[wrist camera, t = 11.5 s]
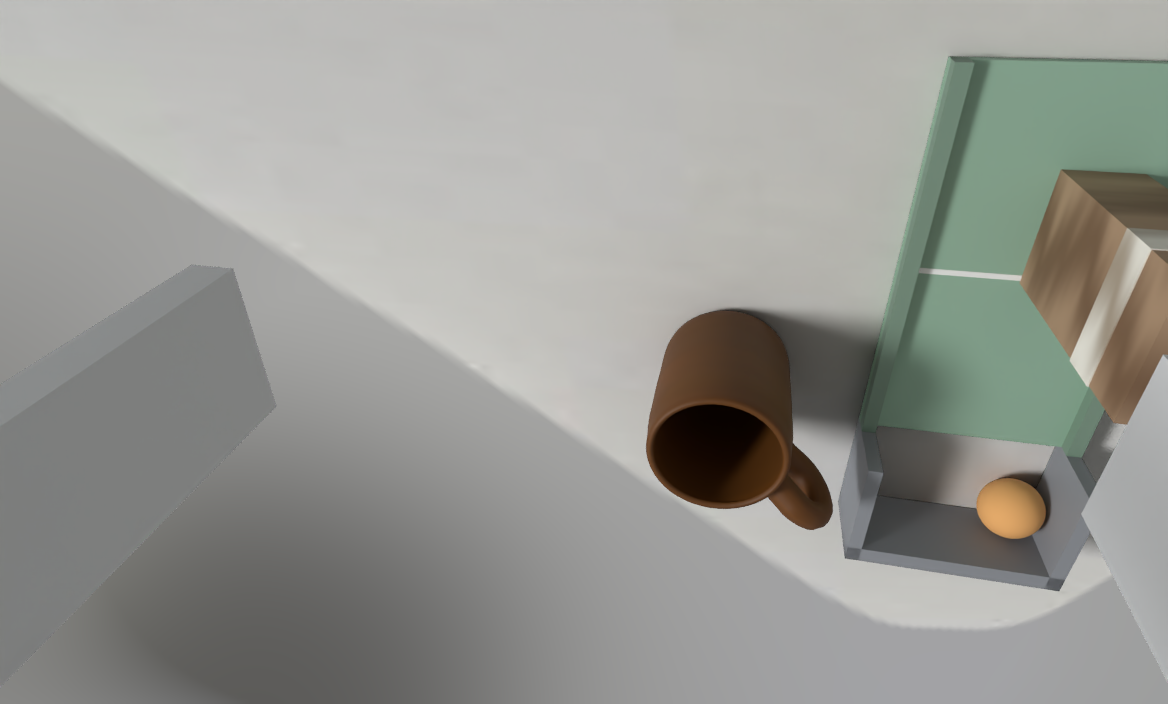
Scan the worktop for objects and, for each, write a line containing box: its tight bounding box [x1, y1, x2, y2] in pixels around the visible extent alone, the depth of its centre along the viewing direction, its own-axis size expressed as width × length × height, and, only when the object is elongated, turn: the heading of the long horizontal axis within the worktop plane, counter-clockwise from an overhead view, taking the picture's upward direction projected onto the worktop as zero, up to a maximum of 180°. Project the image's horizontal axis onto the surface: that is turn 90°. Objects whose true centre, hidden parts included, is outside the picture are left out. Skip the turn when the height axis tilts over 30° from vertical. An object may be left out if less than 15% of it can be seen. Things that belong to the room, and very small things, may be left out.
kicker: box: [1020, 169, 1168, 424], centre depth 29 cm, size 6×4×12 cm, turn 0°
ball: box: [977, 478, 1046, 539], centre depth 42 cm, size 4×4×4 cm
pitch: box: [838, 57, 1168, 591], centre depth 36 cm, size 28×12×5 cm, turn 1°
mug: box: [646, 311, 833, 530], centre depth 40 cm, size 12×8×9 cm, turn 52°
